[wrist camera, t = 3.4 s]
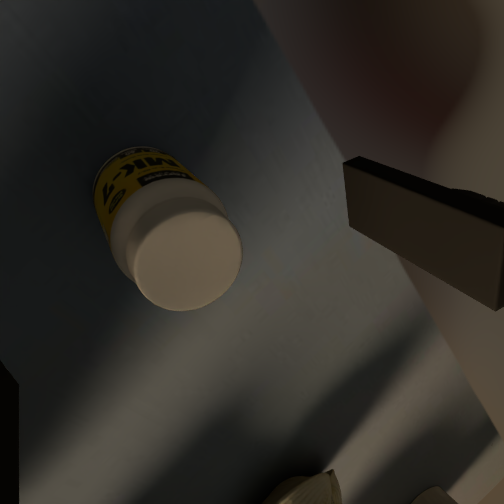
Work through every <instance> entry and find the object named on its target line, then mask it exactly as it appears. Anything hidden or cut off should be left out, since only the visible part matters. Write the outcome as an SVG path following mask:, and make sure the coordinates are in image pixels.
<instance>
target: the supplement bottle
mask: <svg viewBox="0 0 504 504" xmlns="http://www.w3.org/2000/svg"><path fill="white" fill-rule="evenodd" d="M93 202H94V206H95V210H96V213H97V215H98V218H99V220H100V223H101V226H102V228H103V231H104V234H105V237H106V239H107V242H108V244H109V247H110V249H111V252H112V255H113V257H114V260H115V262H116V263H117V265H118V267H119V268H120V269H121V271H122V272H123V273H124V274H125V275H126V276H127V277H128V278H129V279H131V280H132V281H133V282H135V283H136V284H137V286H138V288H139V289H140V291H141V292H142V294H143V295H144V296H145V297H146V298H147V299H148V300H149V301H151V302H152V303H153V304H155V305H157V306H159V307H161V308H164V309H167V310H172V311H188V310H194V309H197V308H200V307H203V306H206V305H208V304H210V303H211V302H213V301H214V300H216V299H218V298H219V297H220V296H221V295H222V294H224V293H225V292H226V291H227V290H228V288H229V287H230V286H231V285H232V283H233V282H234V280H235V278H236V277H237V274H238V272H239V270H240V267H241V263H242V257H243V248H242V242H241V238H240V235H239V233H238V231H237V229H236V228H235V226H234V225H233V224H232V223H231V222H230V221H229V220H228V216H227V212H226V210H225V208H224V206H223V204H222V202H221V201H220V199H219V198H218V197H217V195H216V194H215V193H214V192H213V191H212V190H211V189H210V188H208V187H207V186H206V185H205V184H204V183H202V182H201V181H200V180H199V179H198V178H197V177H195V176H194V175H193V174H192V173H191V172H190V171H189V170H187V169H186V168H185V167H184V166H183V165H181V164H180V163H179V162H178V161H177V160H176V159H175V158H174V157H172V156H171V155H169V154H167V153H165V152H163V151H161V150H159V149H156V148H152V147H144V146H140V147H132V148H128V149H125V150H122V151H120V152H118V153H116V154H115V155H113V156H112V157H111V158H110V159H108V160H107V161H106V162H105V163H104V165H103V166H102V167H101V168H100V170H99V172H98V173H97V175H96V178H95V181H94V185H93Z"/></svg>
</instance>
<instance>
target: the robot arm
mask: <svg viewBox="0 0 504 504" xmlns="http://www.w3.org/2000/svg"><path fill="white" fill-rule="evenodd" d="M343 172H344V181H345V190H346V199H347V208H348V218H349V226H350V227H352V228H353V229H355V230H357V231H358V232H360V233H362V234H364V235H365V236H367V237H369V238H370V239H372V240H374V241H376V242H377V243H379V244H381V245H382V246H384V247H386V248H388V249H389V250H391V251H393V252H394V253H396V254H398V255H400V256H402V257H403V258H405V259H406V260H408V261H410V262H412V263H413V264H415V265H417V266H419V267H420V268H422V269H424V270H425V271H427V272H429V273H430V274H432V275H434V276H436V277H437V278H439V279H441V280H443V281H444V282H446V283H448V284H450V285H451V286H453V287H455V288H456V289H458V290H460V291H461V292H463V293H465V294H466V295H468V296H470V297H472V298H473V299H475V300H477V301H479V302H480V303H482V304H484V305H485V306H487V307H489V308H491V309H492V310H494V311H497V310H499V309H501V308H502V307H504V202H501V201H500V202H498V201H497V200H495V199H493V198H489V197H487V198H486V197H485V196H484V195H481V194H478V193H475V192H472V191H468V190H460V189H450V188H447V187H444V186H441V185H438V184H436V183H433V182H430V181H427V180H425V179H421V178H419V177H416V176H414V175H411V174H408V173H405V172H402V171H400V170H397V169H394V168H391V167H389V166H386V165H383V164H380V163H378V162H374V161H372V160H369V159H366V158H363V157H361V156H358V157H356V158H353V159H351V160H348V161H346V162H344V163H343ZM0 504H19V384H18V383H17V381H16V380H15V379H14V378H13V376H12V375H11V374H10V372H9V371H8V370H7V369H6V367H5V366H4V365H3V363H2V362H1V361H0Z"/></svg>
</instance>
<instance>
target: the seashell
mask: <svg viewBox="0 0 504 504" xmlns="http://www.w3.org/2000/svg"><path fill="white" fill-rule="evenodd" d="M261 504H342V498H341V490H340V486H339V483H338V480H337V478H336V475H335V473H334V470H333V469H331V470H329V471H327V472H325V473H320V474H317V475H314V476H312V477H305V476H295V477H291V478H289V479H287V480H285V481H283V482H282V483H280V484H279V485H278V486H277V487H275V489H274V490H273V491H272V492H271V493H270V495H269V496H268V497H267V498H266V499H265V500H264V501H263V502H262V503H261Z"/></svg>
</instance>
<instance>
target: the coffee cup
mask: <svg viewBox="0 0 504 504" xmlns="http://www.w3.org/2000/svg"><path fill="white" fill-rule="evenodd" d="M411 504H458V503H457V502H456V501H455V500H454V499H452V498H451V497H450V496H449V495H448V494H447V493H446V492H445V491H444V490H442V489H441V488H440V487H438V486H435V487H431V488H429V489H427V490H426V491H424V492H423V493H421V494H420V495H419V496H418V497H417V498H416V499H415V500H414V501H413V502H412V503H411Z"/></svg>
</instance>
